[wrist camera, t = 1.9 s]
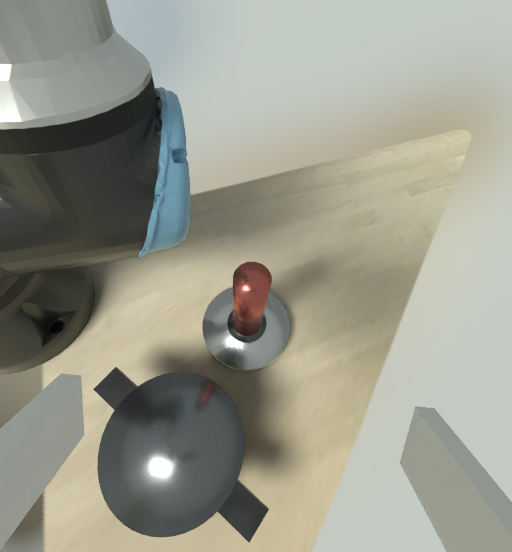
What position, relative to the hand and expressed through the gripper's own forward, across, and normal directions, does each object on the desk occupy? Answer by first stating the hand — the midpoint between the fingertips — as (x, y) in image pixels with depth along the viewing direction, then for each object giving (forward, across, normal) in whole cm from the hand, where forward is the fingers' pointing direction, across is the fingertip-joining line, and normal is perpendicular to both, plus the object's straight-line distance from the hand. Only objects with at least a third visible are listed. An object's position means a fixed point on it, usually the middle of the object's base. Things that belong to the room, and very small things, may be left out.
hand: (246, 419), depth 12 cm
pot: (+14, -5, -16) cm, 22 cm away
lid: (+23, 0, -7) cm, 24 cm away
